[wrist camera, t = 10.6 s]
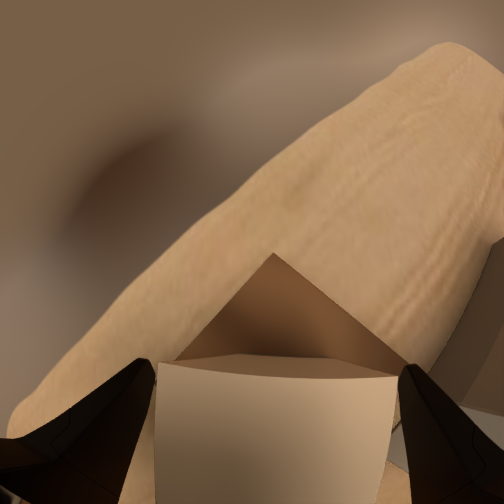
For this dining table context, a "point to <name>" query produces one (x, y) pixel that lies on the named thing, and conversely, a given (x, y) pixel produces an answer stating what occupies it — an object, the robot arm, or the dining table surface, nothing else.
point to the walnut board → (290, 324)
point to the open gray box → (473, 360)
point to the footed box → (271, 430)
